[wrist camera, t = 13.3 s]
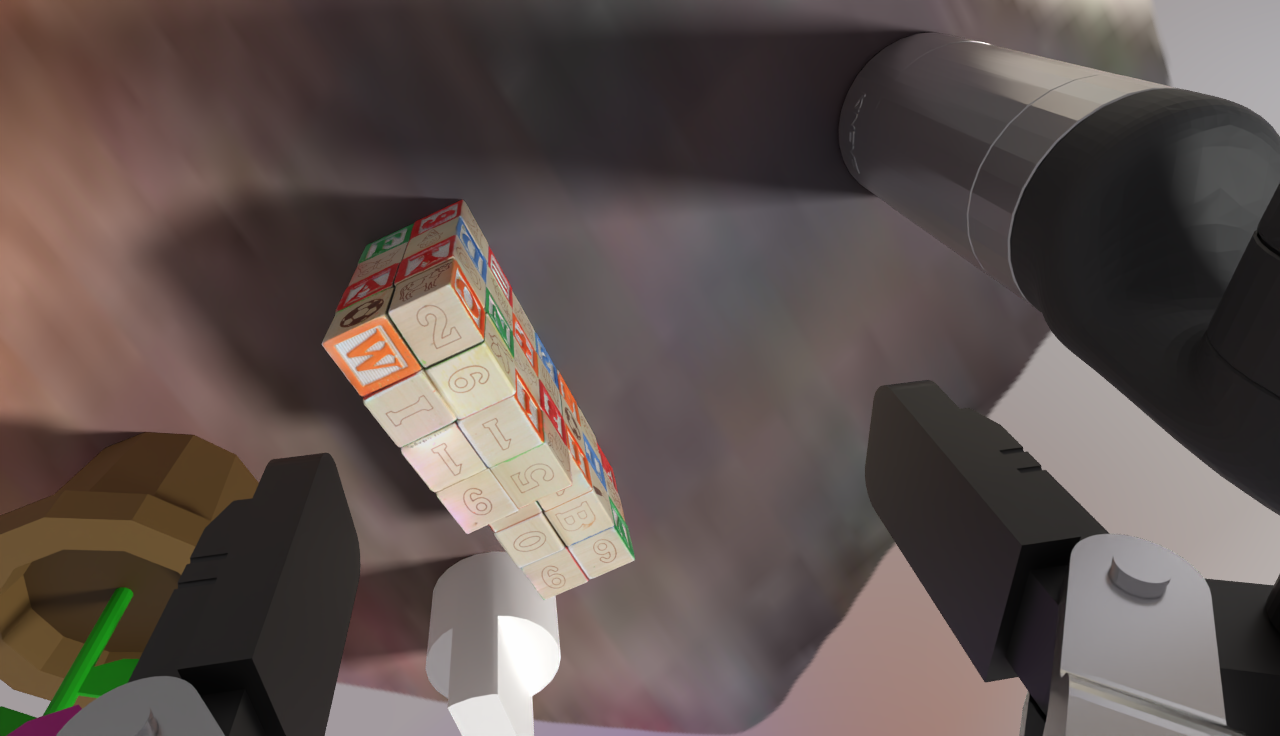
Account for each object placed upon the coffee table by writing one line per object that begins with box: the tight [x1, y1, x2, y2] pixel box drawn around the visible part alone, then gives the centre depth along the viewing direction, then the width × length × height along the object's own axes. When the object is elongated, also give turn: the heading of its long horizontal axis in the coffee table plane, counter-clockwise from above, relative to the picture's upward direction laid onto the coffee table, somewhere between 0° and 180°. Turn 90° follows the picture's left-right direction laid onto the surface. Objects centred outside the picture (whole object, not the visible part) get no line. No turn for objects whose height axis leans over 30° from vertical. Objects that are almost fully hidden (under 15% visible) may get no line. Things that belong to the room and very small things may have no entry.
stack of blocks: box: [322, 200, 635, 600], centre depth 43 cm, size 21×6×12 cm, turn 23°
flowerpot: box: [0, 432, 259, 736], centre depth 36 cm, size 14×14×30 cm
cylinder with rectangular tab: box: [426, 552, 561, 736], centre depth 52 cm, size 9×9×12 cm
